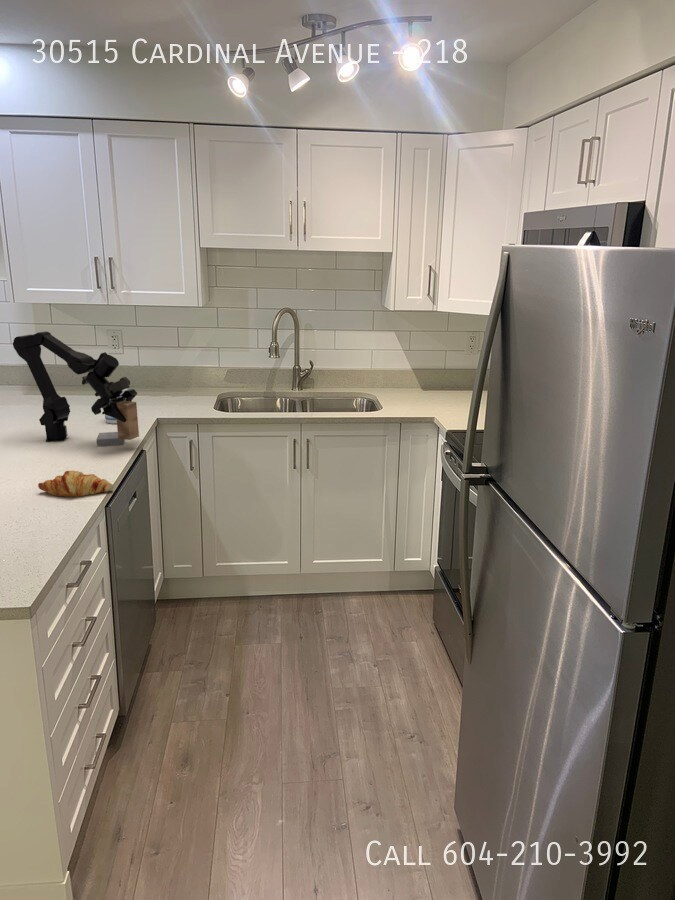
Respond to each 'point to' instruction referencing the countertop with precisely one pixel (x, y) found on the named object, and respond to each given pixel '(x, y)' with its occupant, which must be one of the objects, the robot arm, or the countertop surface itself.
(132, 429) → the walnut pillar
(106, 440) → the light grey plinth
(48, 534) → the countertop surface
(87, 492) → the croissant
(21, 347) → the robot arm
